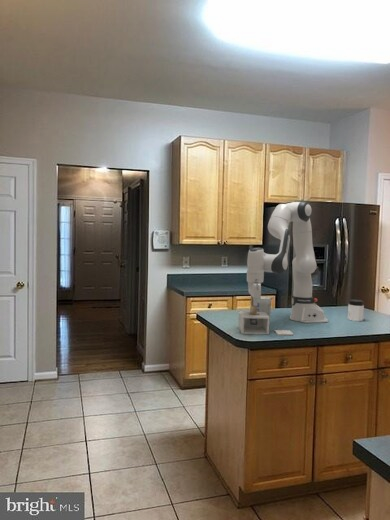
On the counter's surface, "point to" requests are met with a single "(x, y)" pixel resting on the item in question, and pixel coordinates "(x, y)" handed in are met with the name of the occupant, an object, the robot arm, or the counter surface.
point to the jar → (355, 310)
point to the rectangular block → (253, 308)
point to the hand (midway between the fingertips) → (254, 304)
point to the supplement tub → (264, 305)
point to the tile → (283, 332)
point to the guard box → (247, 328)
